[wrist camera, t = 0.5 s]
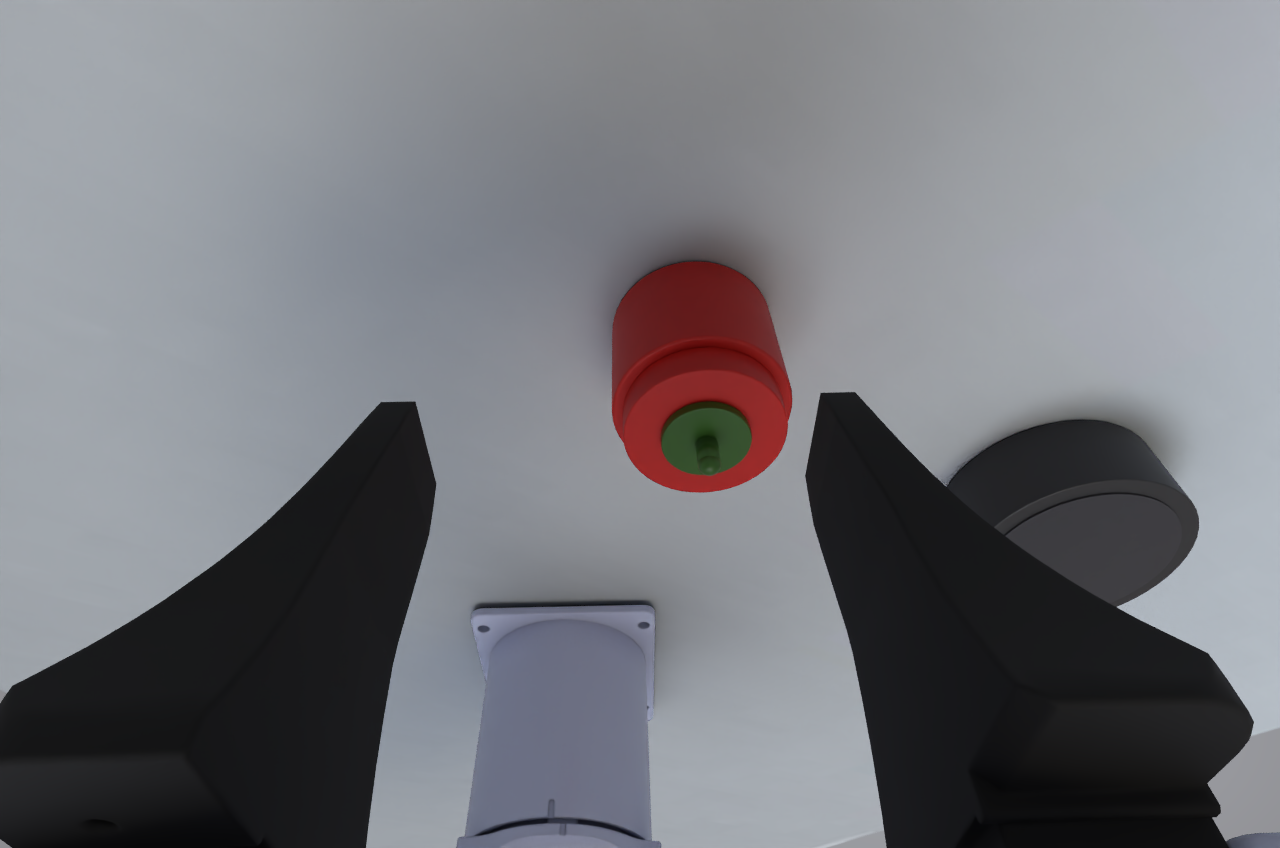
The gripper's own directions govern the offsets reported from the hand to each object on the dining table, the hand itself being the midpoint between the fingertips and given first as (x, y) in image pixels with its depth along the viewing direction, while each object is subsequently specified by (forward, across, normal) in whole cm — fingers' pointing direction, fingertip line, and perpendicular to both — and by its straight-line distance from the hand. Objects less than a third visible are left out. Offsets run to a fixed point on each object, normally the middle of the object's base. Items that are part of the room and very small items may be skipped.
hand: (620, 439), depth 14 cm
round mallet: (+10, -16, +21) cm, 28 cm away
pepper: (+10, -2, +4) cm, 11 cm away
